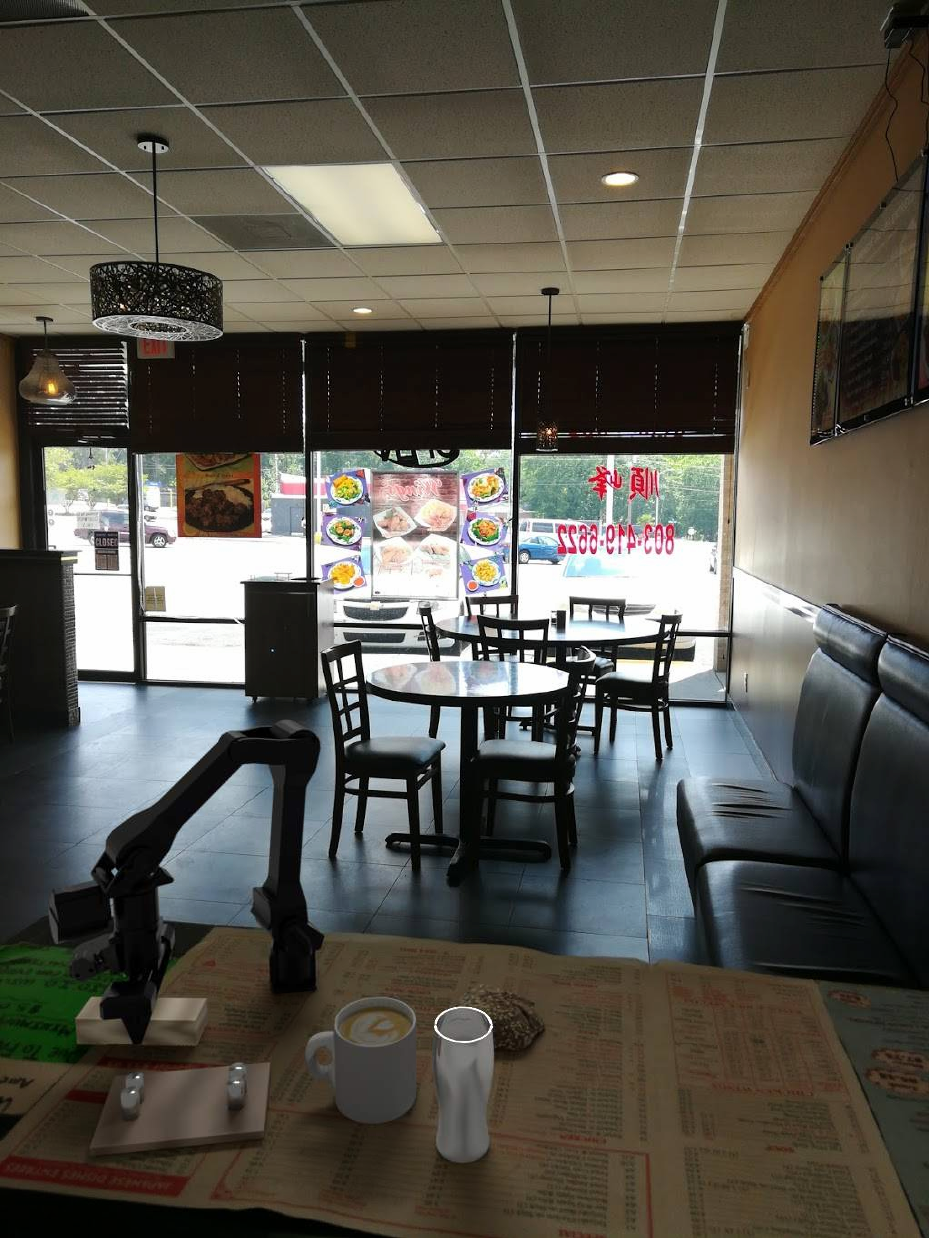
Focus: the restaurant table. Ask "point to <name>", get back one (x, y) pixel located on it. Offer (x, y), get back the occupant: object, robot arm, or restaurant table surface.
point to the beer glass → (462, 1081)
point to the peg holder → (183, 1109)
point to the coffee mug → (369, 1059)
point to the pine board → (167, 1025)
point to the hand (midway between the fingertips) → (143, 1025)
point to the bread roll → (505, 1015)
